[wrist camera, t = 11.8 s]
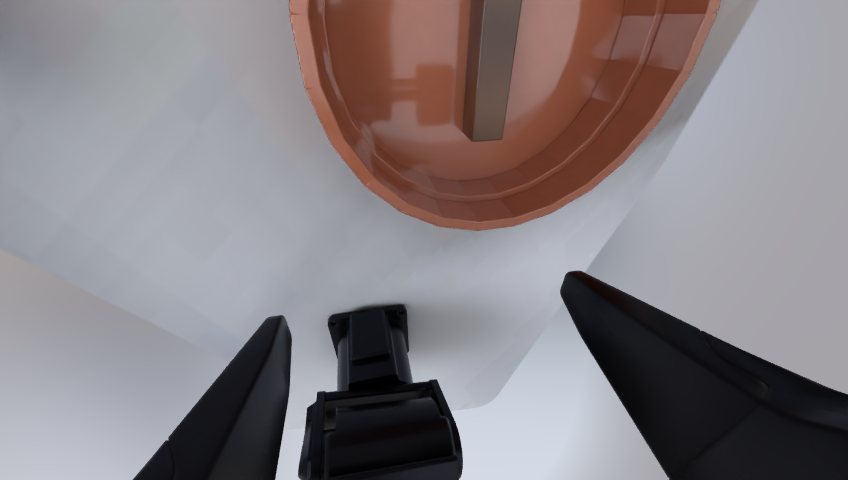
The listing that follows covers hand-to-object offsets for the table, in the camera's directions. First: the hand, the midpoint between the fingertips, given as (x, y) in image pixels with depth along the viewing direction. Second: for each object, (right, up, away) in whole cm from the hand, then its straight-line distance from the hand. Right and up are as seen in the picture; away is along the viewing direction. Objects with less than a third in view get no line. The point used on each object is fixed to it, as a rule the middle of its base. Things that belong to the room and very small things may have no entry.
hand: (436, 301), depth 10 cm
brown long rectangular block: (+3, +12, +6) cm, 14 cm away
